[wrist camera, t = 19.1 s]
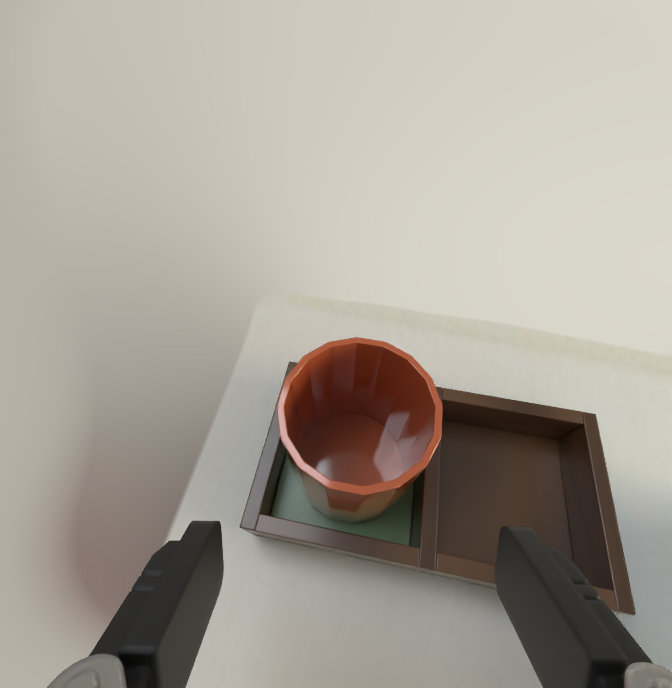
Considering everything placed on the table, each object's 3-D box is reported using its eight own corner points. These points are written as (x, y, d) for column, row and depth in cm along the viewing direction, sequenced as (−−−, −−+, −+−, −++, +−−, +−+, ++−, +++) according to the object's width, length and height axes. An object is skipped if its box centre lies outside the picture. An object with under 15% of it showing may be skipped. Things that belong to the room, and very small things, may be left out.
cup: (285, 510, 21) (256, 473, 13) (311, 404, 24) (300, 327, 17) (399, 534, 20) (438, 510, 13) (409, 422, 24) (445, 351, 16)
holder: (252, 534, 21) (238, 527, 18) (294, 386, 26) (289, 361, 23) (588, 609, 19) (637, 615, 16) (563, 434, 24) (596, 413, 21)
